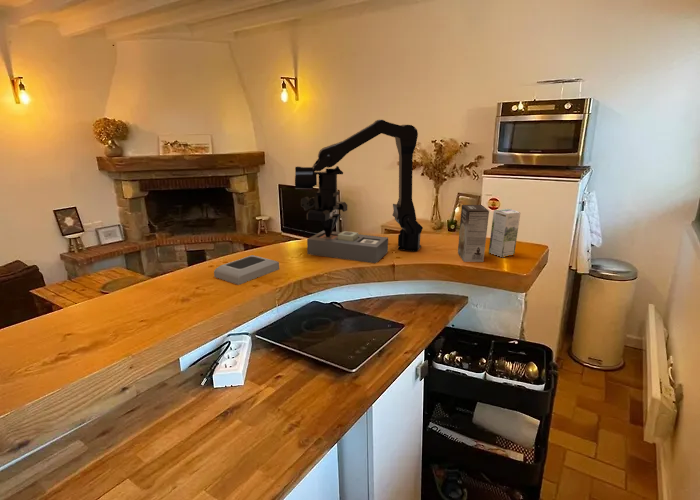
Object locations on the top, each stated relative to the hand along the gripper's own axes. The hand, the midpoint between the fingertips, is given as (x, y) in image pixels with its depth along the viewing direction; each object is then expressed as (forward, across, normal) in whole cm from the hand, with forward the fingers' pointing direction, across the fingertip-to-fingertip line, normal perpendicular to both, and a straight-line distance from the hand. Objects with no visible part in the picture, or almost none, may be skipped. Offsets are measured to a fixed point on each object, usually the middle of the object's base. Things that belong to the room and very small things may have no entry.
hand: (328, 236), depth 136 cm
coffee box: (+5, -11, +44) cm, 46 cm away
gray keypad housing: (+5, 0, +7) cm, 8 cm away
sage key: (+1, 0, +7) cm, 7 cm away
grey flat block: (+5, +28, -12) cm, 31 cm away
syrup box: (+5, -18, +53) cm, 56 cm away
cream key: (+3, 0, +14) cm, 14 cm away
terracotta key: (+3, 0, 0) cm, 3 cm away
